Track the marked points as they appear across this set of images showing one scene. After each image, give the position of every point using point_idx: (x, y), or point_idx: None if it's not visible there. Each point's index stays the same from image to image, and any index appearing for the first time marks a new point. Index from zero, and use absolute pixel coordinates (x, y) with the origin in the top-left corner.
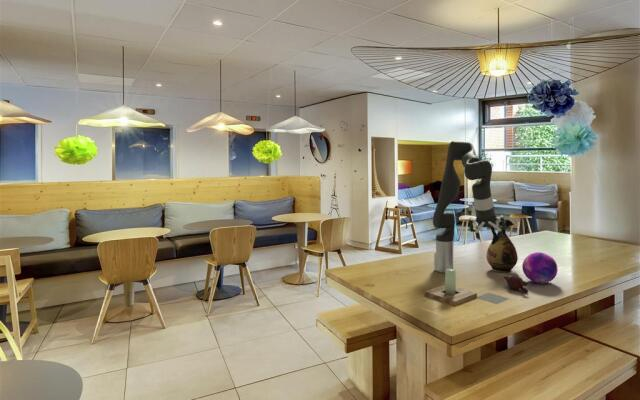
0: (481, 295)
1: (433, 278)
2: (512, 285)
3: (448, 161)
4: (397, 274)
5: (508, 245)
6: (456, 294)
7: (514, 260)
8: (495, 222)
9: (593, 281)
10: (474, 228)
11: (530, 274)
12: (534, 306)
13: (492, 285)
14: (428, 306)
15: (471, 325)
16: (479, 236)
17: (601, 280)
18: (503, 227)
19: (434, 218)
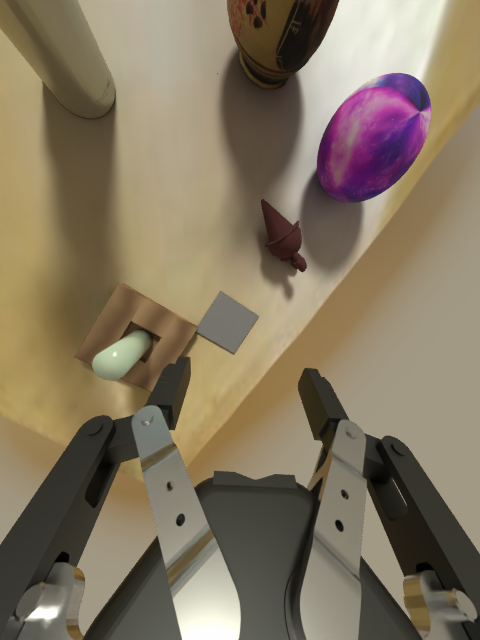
0: (206, 314)
1: (67, 194)
2: (274, 255)
3: None
4: None
5: None
6: (153, 353)
7: (318, 45)
8: (351, 505)
9: (439, 140)
10: (124, 449)
11: (328, 189)
12: (293, 338)
13: (231, 226)
14: (107, 406)
15: (192, 451)
16: (185, 387)
17: (456, 128)
18: (372, 486)
19: None
